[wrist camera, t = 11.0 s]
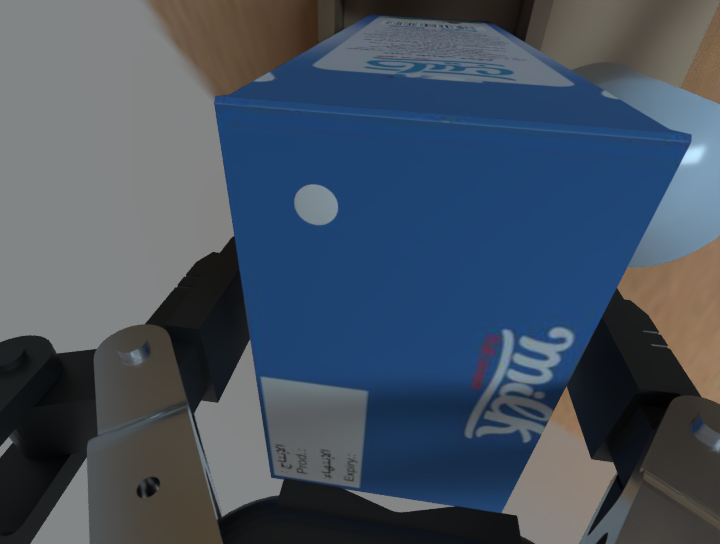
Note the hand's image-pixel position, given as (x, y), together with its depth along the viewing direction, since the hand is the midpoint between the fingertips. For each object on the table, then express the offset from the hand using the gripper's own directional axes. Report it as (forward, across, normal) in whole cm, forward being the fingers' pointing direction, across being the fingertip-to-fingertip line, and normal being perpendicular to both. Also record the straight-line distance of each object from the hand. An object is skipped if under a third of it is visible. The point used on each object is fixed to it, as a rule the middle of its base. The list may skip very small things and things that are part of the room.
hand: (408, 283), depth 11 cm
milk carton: (+17, 0, 0) cm, 17 cm away
